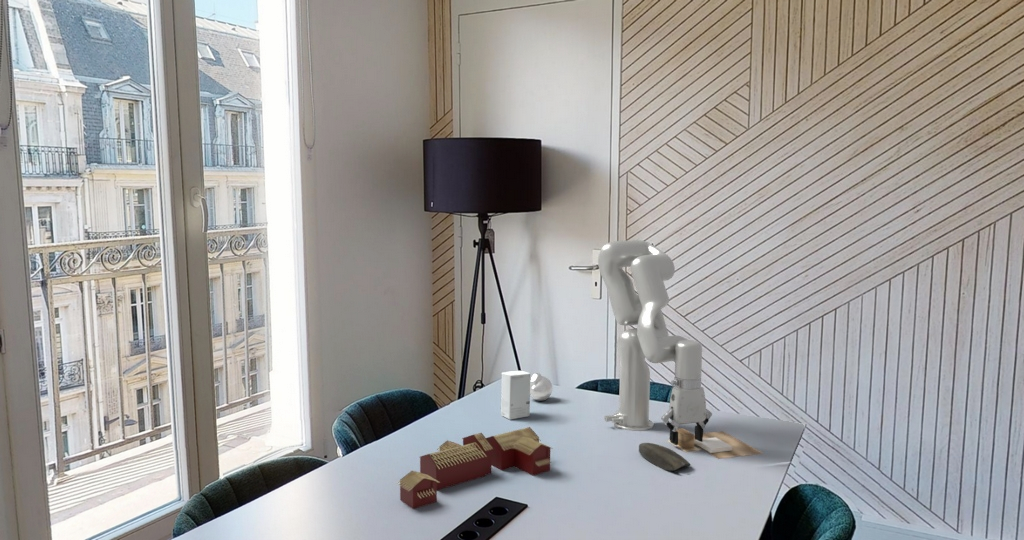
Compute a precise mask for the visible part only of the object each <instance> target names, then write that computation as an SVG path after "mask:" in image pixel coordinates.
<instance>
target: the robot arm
mask: <svg viewBox="0 0 1024 540" xmlns="http://www.w3.org/2000/svg"><path fill="white" fill-rule="evenodd" d="M597 264H598V270H599V273H600V275H601V278H602V280H603V282H604V284H605V286H606V291H607V293H608V297H609V298H608V299H609V302H610V306H611V308H612V312H613V316H614V318H615V322H616V323H618V324H619V325H621V326H624V327H625V326H636V325H637V328H636V327H634V328H630V329H626V330H624V331H622V332H621V333H619V335H618V337H617V339H616V340H617V342H616V343H617V346H616V347H617V352H618V359H619V392H618V393H619V394H618V395H619V397H618V399H619V400H618V402H619V403H618V410H616V411H615V413H613V415H612V414H609V415H606V414H605V416H604V421H605V422H606V423H607V422H611V423H612V424H613V425H614V428H618V429H621V430H625V431H632V432H641V431H648V430H651V429H653V428H654V426H655V425H654V422H653V421H652V420H650V389H651V388H650V387H651V371H650V368H649V366H648V364H647V361H648V362H650V363H653V364H662V363H669V362H674V379H673V380H671V381H670V384H671V386H673V387H672V390H671V393H670V398H669V409H668V410H667V411H666V412H665V413H664V414H663V415H662V416H661V417H660V419H661V421H662V422H663V423H664V426H666V428H667V429H669V440H670V442H671V444H672V443H673V444H674V446H675V445H678V432H677V431H676V430H677V429H679V427H680V425H686V424H687V425H688V424H696V425H695V426H694V434H695V436H694V438H695V439H696V440H698V441H700V442H702V439H703V433H704V429H706V425H707V424H708V422H709V421H710V419H711V417H712V416H713V412H711V411H710V410H709V409H708V408H707V401H706V400H707V399H706V394H705V389H704V387H702V368H703V367H702V364H703V363H702V362H703V358H702V357H703V346H702V343H701V342H700V341H698V340H693V339H692V340H691V339H687V338H685V337H684V336H682V335H676V334H675V335H669V332H668V328H667V325H666V321H665V318H664V314H663V311H662V309H664V308H665V307H666V306H667V305H668V304H669V303H670V298H669V295H668V291H667V288H666V286H665V281H666V282H667V281H669V280H670V279H672V278H673V277H674V275H675V271H676V270H675V269H676V268H675V263H674V262H673V259H672V258H671V257H670V256H669V255H668V254H667V253H666V252H664V251H663V250H661V249H659V248H658V247H657V246H655V245H653V244H652V243H650V242H648V241H646V240H640V239H639V240H635V239H634V240H615V241H609V242H607V243H605V244H604V245H603V246H601V248H600V250H599V253H598V257H597ZM627 267H628V268H629V267H630V271H631V276H632V279H631V277H630V276H629V275H628V273H627V272H625V270H623V268H627ZM632 280H633V281H632ZM633 282H634V283H633ZM635 289H636V290H635ZM636 292H637V293H636ZM670 420H671V421H670ZM670 442H669V443H670ZM673 444H672V445H673Z"/></svg>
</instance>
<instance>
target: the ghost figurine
mask: <svg viewBox="0 0 1024 540" xmlns="http://www.w3.org/2000/svg"><path fill="white" fill-rule="evenodd" d="M553 389H554V387H553V384H552V381H551V380H550V379H549V378H548V377H546V376H544V375H542V374H541V373H540V372H538V373H536V372H535V373H533V374H532V375H530V398H532V399H534V400H535V401H537V402H538V401H539V402H542V401H545V400H547V399H549V398H550V397H551V395H552V394H553Z"/></svg>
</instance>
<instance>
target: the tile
mask: <svg viewBox="0 0 1024 540" xmlns="http://www.w3.org/2000/svg"><path fill="white" fill-rule="evenodd" d="M695 444H696V445H698V446H699V447H701V448H703V449H705V450H706V451H708V452H710V453H717V452H725V451H731V450H732V446H731V445H729V444H727V443H725V442H723V441H721V440H720V439H718V438H716V437H715V438H707V439H702V442H700V441H698V440H695ZM696 445H695V446H696ZM698 446H697V447H698ZM699 447H698V448H699ZM701 448H700V449H701ZM703 449H702V450H703ZM706 451H705V452H706ZM708 452H707V453H708Z"/></svg>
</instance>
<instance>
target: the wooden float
mask: <svg viewBox="0 0 1024 540" xmlns="http://www.w3.org/2000/svg"><path fill="white" fill-rule="evenodd" d="M676 431H677V432H678V445H674V444H673V443H671V442H670V439H668V440H667V442H669V443H671V444H672V445H674V446H675V447H677V448H678V449H680V450H681V451H683V452H685V453H691V452H697V451H701V448H699V447H698V446H697V447H696V445H694V434H695V433H693V432H691V431H689V430H687V429H685V428H678V429H677V430H676Z"/></svg>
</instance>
